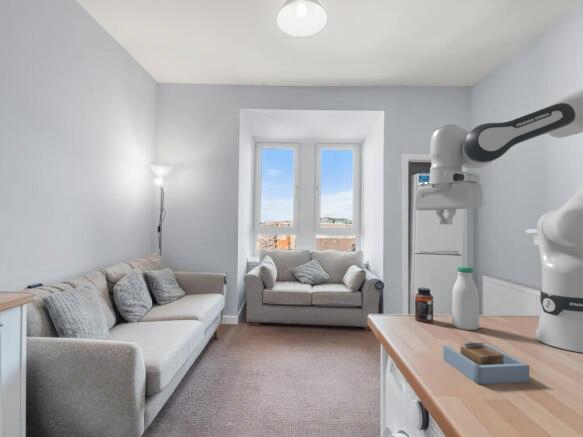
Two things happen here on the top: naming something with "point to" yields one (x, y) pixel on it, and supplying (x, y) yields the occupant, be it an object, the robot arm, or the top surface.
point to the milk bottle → (465, 300)
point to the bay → (488, 368)
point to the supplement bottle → (424, 305)
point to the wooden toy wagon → (481, 354)
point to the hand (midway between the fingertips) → (445, 224)
